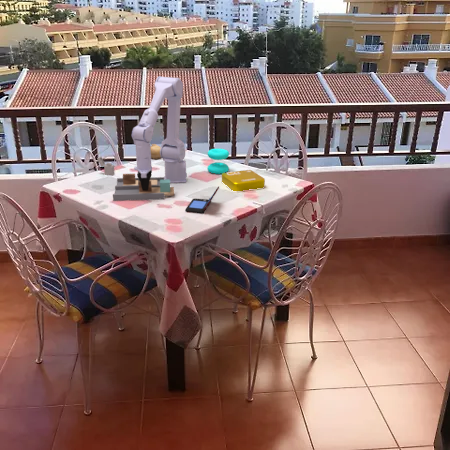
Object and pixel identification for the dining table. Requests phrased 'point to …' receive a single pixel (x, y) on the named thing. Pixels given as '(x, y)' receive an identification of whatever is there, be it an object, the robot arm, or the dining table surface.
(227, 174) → the element tile
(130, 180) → the broken strip front
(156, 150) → the onion
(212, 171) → the donuts
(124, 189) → the slate board
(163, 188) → the teal cube
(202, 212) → the handheld game console
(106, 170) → the lighter
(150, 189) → the oak strip
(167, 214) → the dining table surface
